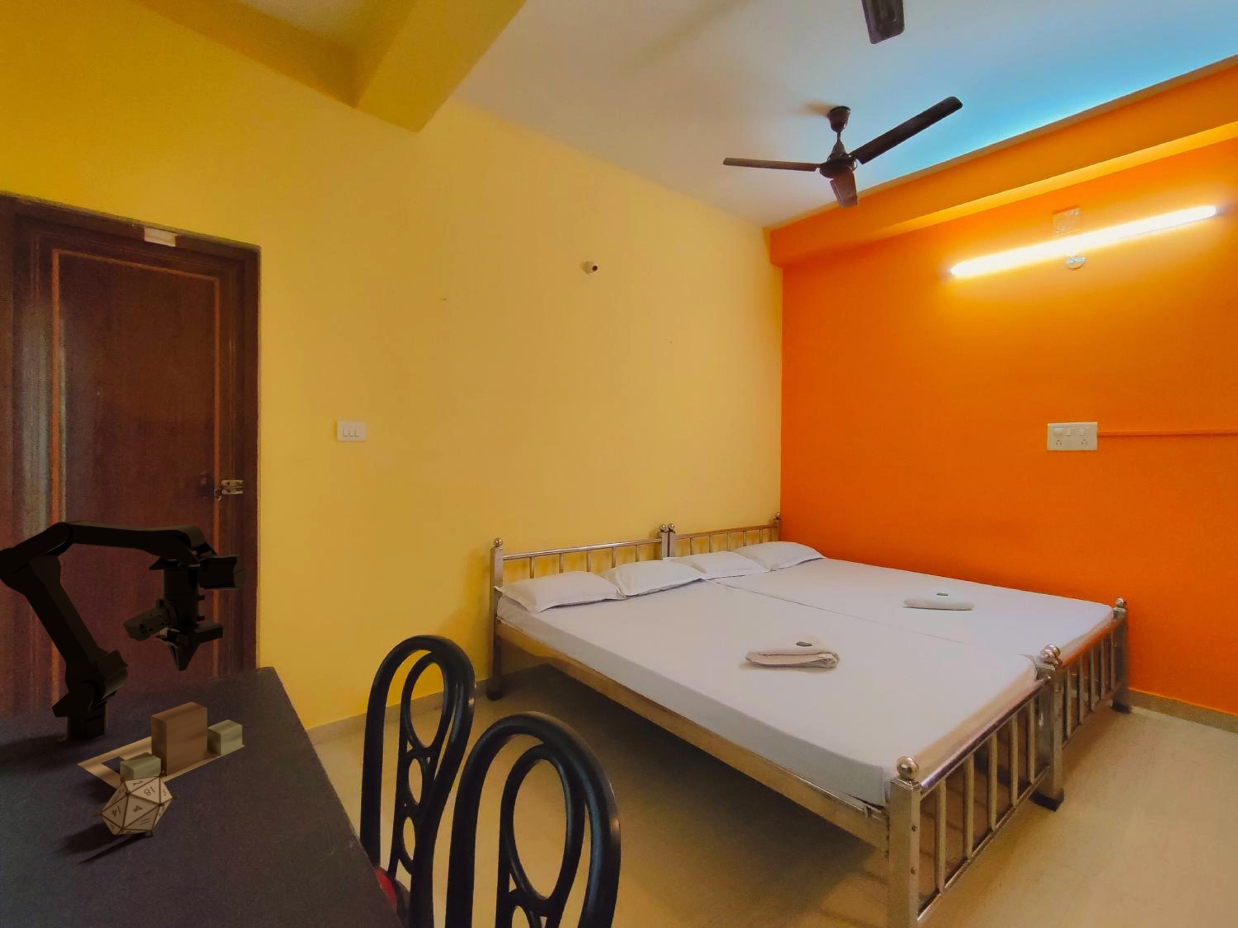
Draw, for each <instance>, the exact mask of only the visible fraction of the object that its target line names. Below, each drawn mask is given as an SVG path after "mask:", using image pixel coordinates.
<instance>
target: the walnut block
mask: <svg viewBox="0 0 1238 928" xmlns="http://www.w3.org/2000/svg"><path fill="white" fill-rule="evenodd" d="M150 718H151V719H150V728H151V730H150V732H151V734H150V735H151V754H152V755H154V756H156V757H158V758H160V759H161V772H162V771H163V770H164V774H163V775H165V776H169V775H171V774H174V773H176V772H178V771H180V770H183V769H185V768H187V767H189V766H192V765H194V764H196V763H198V762H201V761H203V760H205V759H207V728H208V708H207V707H206V706H204V705H201V704H199V703H197V702H196V703H195V702H193V701H190V702H187V703H184V704H181V705H178V706H176V707H173V708H170V709H167V710H164V711H161V712H158V713H155V714H153V715H151V716H150Z"/></svg>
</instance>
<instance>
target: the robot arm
mask: <svg viewBox="0 0 1238 928" xmlns="http://www.w3.org/2000/svg"><path fill="white" fill-rule="evenodd" d="M75 544H77V545H88V546H96V547H97V546H99V547H109V548H119V549H120V548H121V549H122V548H123V549H132V550H134V549H135V550H139V551H143V552H144V553H147V554H148V555H151V556H155V557H158V559H157V560H156V561H155V562H154V563H152V564H151V565H150V566H149V567H148V570H150V571H162V596H161V597H157V600H156V601H155V607H153V608H152V607H151V608H150V609H147V610H145V611H143V612H142V613H138V614H137V615H135V616H133V617H131V618H130V619H128V620H126V621H124V622H123V623H122V625H123V627H124V629H125V630H126V633H127V634H128V636H129V638H130V639H131V640H133V639H134V640H136V641H137V642H143V641H146V640H147V639H150V638H151V636H152V635H155V634H157V633H159V634H158V635H156V636H154V638H155V639H156V640H158V641H161V642H163V643H165V644H166V645H167V648H168V650H169V652H170V654H171V658H172V660H173V663H174V664H175V667H176V670H177V671H178V672H183V671H185V670H187V668H188V666H189V664H190V662H191V661H192V659H193V657H194V656H195V653H196V651H197V650H198V648H199V647H200V645H201V644H204V643H207V642H211V641H212V642H213V641H215V640H218V639H222V638H224V637H225V625H222V624H221V623H219V622H216V621H212V620H208V621H206V615H205V614H202V613H201V601H205V600H206V597H205V595H206V594H203V593H201V590H200V589H202V588H203V590H205V591H228V590H234V591H235V590H241V589H242V588H243V587H244V585H245V583H246V577H247V568H246V567H245V563H244V561H243V560H242V555H241V554H231V555H219V554H218V552H217V551H216V550H215V549H214V548H213V547H212V546H211V545H210V543H209V542H208V541H207V540H206V539H205V534H204V532H203V531H202V530H201V529H200V527H199V526H197V525H191V524H188V525H187V524H186V525H185V524H184V525H170V526H158V527H146V526H145V527H142V526H132V525H125V524H123V525H121V524H113V523H112V524H111V523H101V522H93V521H92V522H91V521H82V520H80V519H69V520H64V521H58V522H55V523H53V524H52V525H51V526H49V527H47V528H46V529H44V530H43V531H41V532H39V533H37V534H35V535H33V536H32V537H29V538H27V539H25V540H23V541H22V542H20V543H18V544H16V545H15V546H10V547H6V548H3V549H1V550H0V581H1V582H2V583H3V584H4V586H5V587H7V588H9V589H11V590H13V591H14V592H17V593H18V594H20V595H22V596H24V597H25V599H26V600H27V602H28V604H29V606H30V607H31V608H32V610H33V613H34V614H35V615H36V617H37V618H38V621H39V622H40V624H41V625H42V627H43V628H44V630H45V632H46V633H47V635H48V636H49V638H50V640H51V641H52V643H53V645H54V646H55V648H56V649H57V652H58V653H59V654H60V657H62V659H63V661H64V664H65V668H64V669H65V670H64V680H63V681H64V683H65V687H66V691H67V693H66V694H65V695H63V696H62V697H61V698H60V699H59V700H58V701H56V702H55V703H54V704H53V705H52V706H51V710H52V713H53V715H54V716H55V718H65V735H64V736H60V737H58V738H57V743H61V742H64V741H67V740H68V741H80V740H81V741H91V740H93V739H95V738H99V737H101V736H105V735H106V732H107V730H108V728H109V727H108V700H110V699H111V698H113V697H116V695H117V693H118V690H119V688H121V687H122V686H123V685H124V684H125V682H126V680H127V678H128V675H129V674H128V670H127V668H128V667H129V664H127V662H125V661H124V660H123V658H122V657H123V656H122V655H121V653H120V651H119V649H113V650H112V651H110V652H108V651H107V650H104V649H103V648H102V647H100V646H99V645H98V644H97V641H96V640H95V638H94V636H93V635H92V633H91V632H90V630H89V628H88V627H87V626H86V623H85V622H84V620H83V618H82V617H81V615H80V614H79V612H78V611H77V609H76V607H75V606H74V604H73V602H72V601H71V598H70V597H69V596H68V595H69V594H67V592H66V590H65V588H64V587H63V585H62V583H61V572H62V565H61V561H60V558H59V557H60V556H62V555H64V554H65V553H66V552H68V551H70V549H71V548H72V547H73V546H74V545H75Z"/></svg>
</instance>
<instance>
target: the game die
mask: <svg viewBox="0 0 1238 928" xmlns="http://www.w3.org/2000/svg"><path fill="white" fill-rule="evenodd" d="M163 774H164V770H163V771H162V772H160V773H159V776H153V777H146V778H139V779H132V780H125V778H124V777H123V776H121V777H120V780H121V781H122V783H121V785H120V786H119V788H118V789H116V790H115V791H114V793H113V794H112V795H111V797H110V798H109V799H108V801H107V802H106V803H105V805H104V806H103V808H102V809H101V811H99V812H98V811H97V812H94V813H93V814H91V815H90V816H91V817H93V818H96V817H98V816H100V818H101V819H102V821H103V822H104V824H105V826H106V827H107V828H108V830H109V831H110V833H111V834H112V835H114V836H120V835H123V836H129V835H135V834H141V833H147V832H150V836H154V837H155V835H156V831H155V829H154V828H155V827H156V825H157V823H158V822H159V821H160V820H161V818H162V816H163V815H164V813H165V812H166V810H167V808H168V806H170V804H171V802H172V801H173V800H177V799H179V798H181V797H180V796H179V795H178V794H177V795H174V796H173V795H172V793H171V792H170V790H169V788H168V787H167V785H166V782H163V780H162V778H161V776H162V775H163ZM114 841H115V840H114V839H113V840H111V841H109V844H111V843H112V842H114Z"/></svg>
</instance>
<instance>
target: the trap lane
mask: <svg viewBox="0 0 1238 928" xmlns="http://www.w3.org/2000/svg"><path fill="white" fill-rule="evenodd" d="M245 746H246V745H244V744H243V725H242V724H239V723H238V722H235V721H233V720H230V719H226V720H224V721H221V722H218V723H216V724H212V725H211V726H209V727H208V726H207V759H205V760H203V761H201V762H198V763H196V764H194V765H192V766H189V767H187V768H185V769H183V770H180V771H178V772H176V773H174V774H171V775H169V776H165V775H162V776H161V778H162V780H163V782H164V783H166V782H168V781H170V780H172V779H174V778H177V777H178V776H182V775H183V774H185V773H188V772H190V771H191V770H194V769H197V768H199V767H201V766H203V765H205V764H208V763H210V762H213V761H215V760H217V759H218V758H221V757H223V756H226V755H228V754H230V753H233V752H235V751H237V750H239V749H242V748H244V747H245ZM118 757H119V758H121V759H123V760H122V761H119V767H120V768H119V773H118V772H116V771H114V770H113V769H112V768H109V767H107V766H106V765H104V764H103V763H105V762H107V761H110V760H112V759H115V758H118ZM76 765H77V766H79V767H80V768H82V769H83V770H86V771H87V772H89V773H90V774H92V775H94V776H95V777H96V778H99V779H100V780H102V781H103V782H105V783H107V784H108V785H110V786H111V787H112V788H114V789H116V790H117V789H118V788H119V786H120V785H121V783H122V781H121V780H120V777H121V776H123V777H124V778H125V780H132V779H139V778H146V777H153V776H159V773H160V772H161V759H160V758H158V757H156V756H154V755H152V754H151V736H150V735H149V736H148V737H145V738H143V739H140V740H138V741H135V742H133V743H130V744H126V745H124V746H121V747H119V748H116V749H113V750H111V751H108V752H105V753H103V754H100V755H98V756H95V757H92V758H89V759H87V760H84V761H82V762H79V763H77V764H76Z"/></svg>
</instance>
